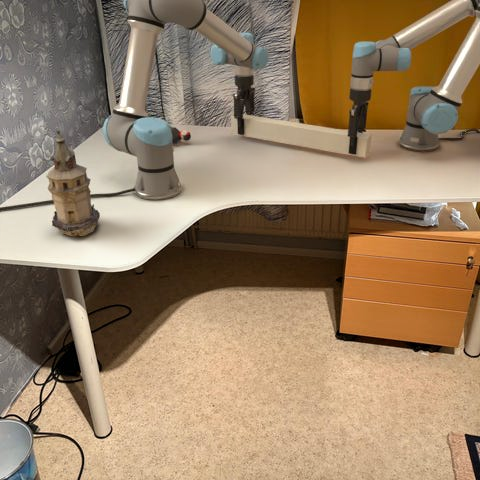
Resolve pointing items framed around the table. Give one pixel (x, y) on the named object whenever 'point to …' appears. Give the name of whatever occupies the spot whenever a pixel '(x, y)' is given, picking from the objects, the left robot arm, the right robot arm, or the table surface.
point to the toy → (179, 135)
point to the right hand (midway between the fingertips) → (355, 151)
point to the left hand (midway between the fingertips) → (244, 132)
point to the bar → (302, 135)
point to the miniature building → (70, 193)
